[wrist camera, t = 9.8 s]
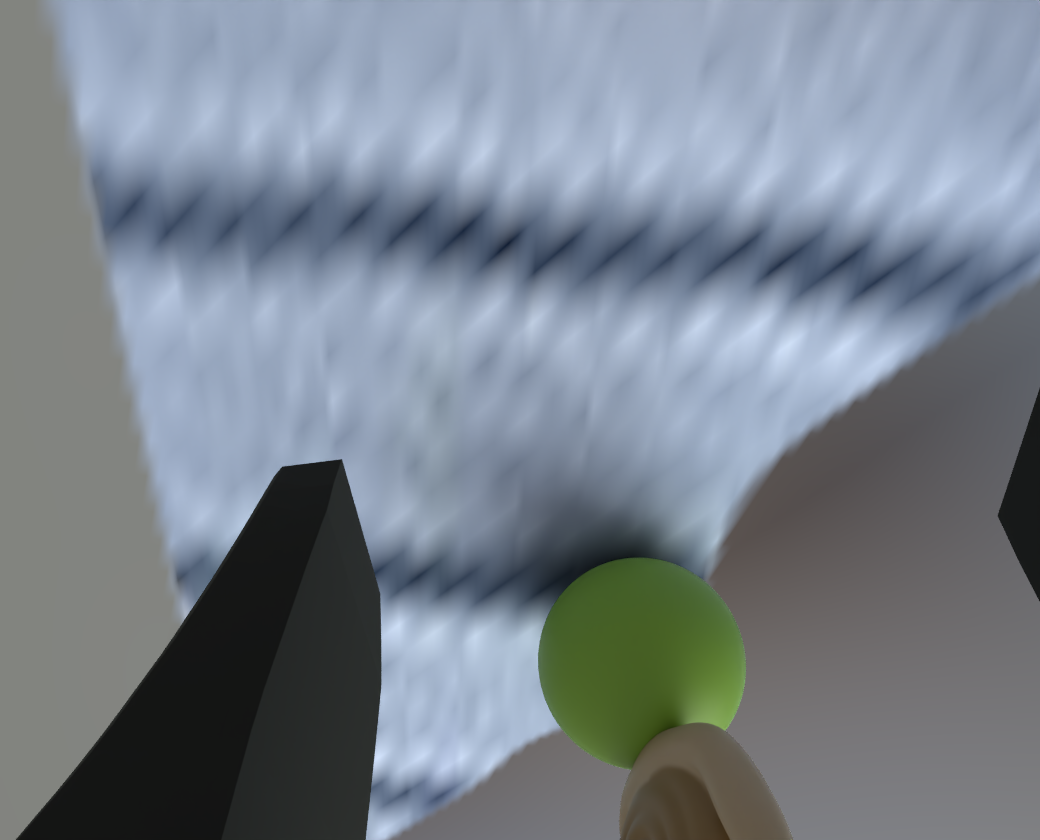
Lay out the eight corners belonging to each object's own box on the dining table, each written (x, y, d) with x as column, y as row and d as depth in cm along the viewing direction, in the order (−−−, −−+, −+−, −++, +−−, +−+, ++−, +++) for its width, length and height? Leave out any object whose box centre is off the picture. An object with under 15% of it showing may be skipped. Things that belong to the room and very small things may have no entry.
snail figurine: (766, 511, 25) (978, 1002, 15) (666, 655, 28) (787, 1124, 19) (585, 471, 23) (694, 985, 14) (503, 628, 27) (545, 1121, 17)
